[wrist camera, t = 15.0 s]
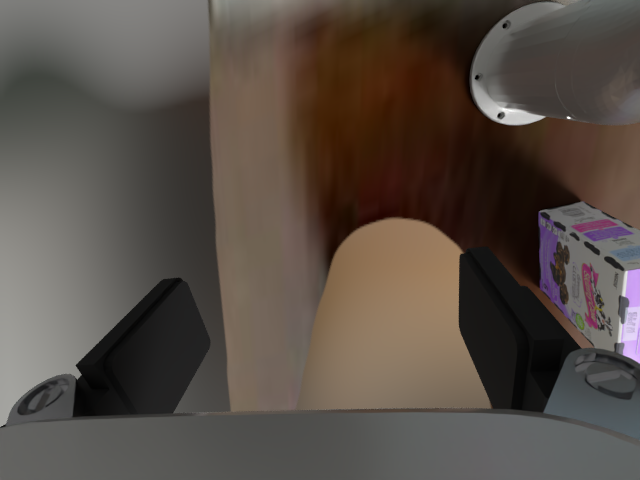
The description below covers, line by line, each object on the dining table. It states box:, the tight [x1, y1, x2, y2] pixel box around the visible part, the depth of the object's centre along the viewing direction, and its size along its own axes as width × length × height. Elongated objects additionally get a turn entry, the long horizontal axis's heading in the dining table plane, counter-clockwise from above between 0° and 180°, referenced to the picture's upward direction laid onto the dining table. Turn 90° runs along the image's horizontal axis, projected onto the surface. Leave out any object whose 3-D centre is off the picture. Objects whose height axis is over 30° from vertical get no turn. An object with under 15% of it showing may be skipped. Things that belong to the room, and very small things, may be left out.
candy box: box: [539, 202, 640, 363], centre depth 40 cm, size 14×6×16 cm, turn 17°
